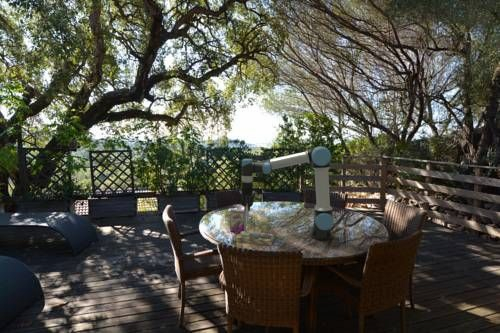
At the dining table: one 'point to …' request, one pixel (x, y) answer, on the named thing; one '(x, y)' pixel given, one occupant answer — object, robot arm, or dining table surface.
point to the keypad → (255, 239)
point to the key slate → (255, 234)
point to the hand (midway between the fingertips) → (247, 215)
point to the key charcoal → (266, 236)
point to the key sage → (246, 234)
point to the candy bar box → (237, 220)
